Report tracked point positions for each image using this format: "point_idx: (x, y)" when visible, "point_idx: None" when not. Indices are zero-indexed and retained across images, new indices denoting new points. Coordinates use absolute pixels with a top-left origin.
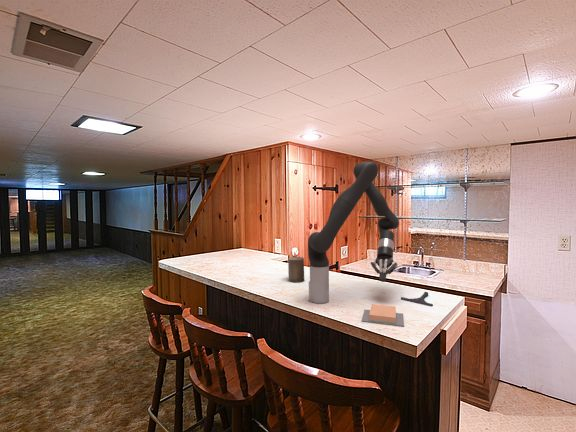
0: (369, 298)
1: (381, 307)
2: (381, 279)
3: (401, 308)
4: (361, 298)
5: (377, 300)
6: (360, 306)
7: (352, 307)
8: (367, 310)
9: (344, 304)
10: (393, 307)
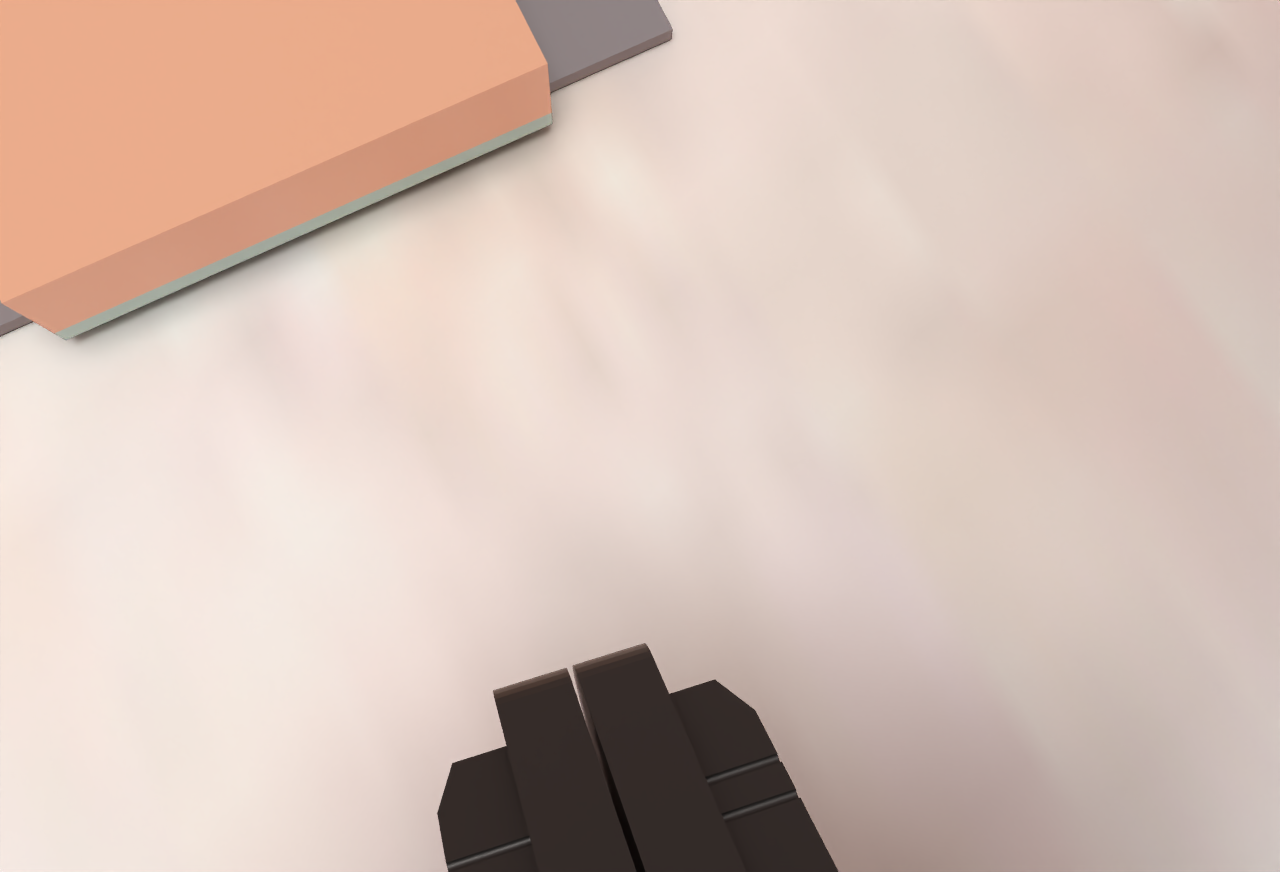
0: (1044, 842)
1: (247, 6)
2: (594, 665)
3: (86, 725)
4: (1186, 689)
5: None
6: (868, 180)
7: (955, 14)
8: (590, 16)
9: (1192, 50)
10: (18, 200)
